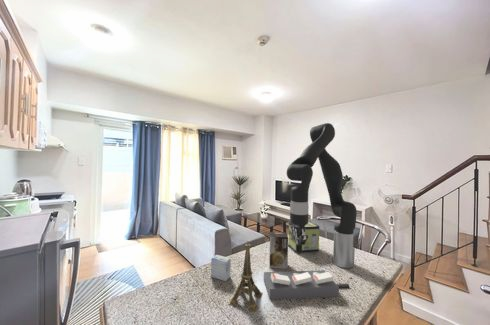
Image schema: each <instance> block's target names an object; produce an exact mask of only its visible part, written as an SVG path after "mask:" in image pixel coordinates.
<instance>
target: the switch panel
mask: <svg viewBox="0 0 490 325" xmlns="http://www.w3.org/2000/svg"><path fill="white" fill-rule="evenodd" d="M306 272H308V273H309V274H310V276H311V277H312V281H309V282H306V283H302V284H298V285H295V283H294V282H293V280H292V276H295V275H298V274H302V273H306ZM325 272H326V271H325V270H297V271H296V270H292V271H289V270H287V271H264V272H263V283H264V286H265V290H266V292H267V296H268V298H269V300H291V299H292V300H293V299H295V300H296V299H314V298H315V299H317V298H318V299H319V298H339V297H340V296H339V294H340V293H339V292H340V288H350V284H349V283H336V282H335V281H334V280H333V281H329V282H325V283H320V284H317V283H316V282H315V281H314V279H313V275H316V274H321V273H325ZM271 273H273V274H279V275H285V276H288V278H289V279H290V285H286V284H280V283H274V282H272V279H271Z"/></svg>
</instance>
